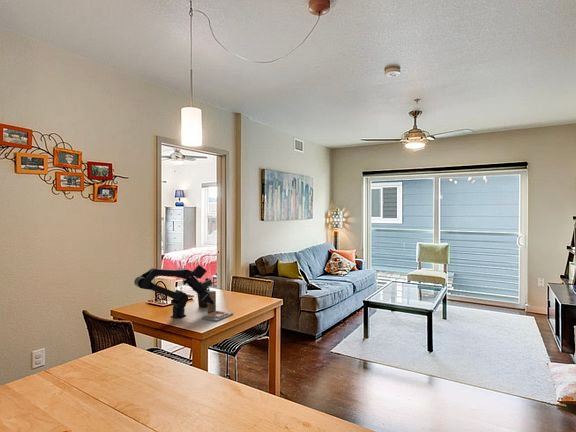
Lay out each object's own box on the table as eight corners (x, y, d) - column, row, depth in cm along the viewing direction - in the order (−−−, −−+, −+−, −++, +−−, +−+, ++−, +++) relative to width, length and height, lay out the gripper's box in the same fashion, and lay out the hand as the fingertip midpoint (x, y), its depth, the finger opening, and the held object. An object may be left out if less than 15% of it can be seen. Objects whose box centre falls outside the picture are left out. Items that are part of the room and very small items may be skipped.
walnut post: (212, 314, 210) (212, 292, 210) (205, 313, 212) (205, 292, 212) (217, 312, 214) (217, 291, 214) (211, 311, 216) (211, 290, 216)
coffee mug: (198, 309, 221) (198, 293, 221) (196, 305, 229) (196, 290, 229) (216, 307, 226) (216, 291, 226) (214, 304, 234) (214, 289, 234)
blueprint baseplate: (216, 321, 195) (216, 318, 195) (201, 319, 200) (201, 315, 200) (233, 314, 210) (233, 311, 209) (218, 312, 214) (218, 308, 214)
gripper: (204, 277, 203) (223, 295, 205) (205, 272, 221) (222, 288, 223) (190, 291, 201) (209, 309, 204) (192, 285, 220) (210, 301, 222)
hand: (213, 301), depth 213 cm, fingers open, 9 cm apart
